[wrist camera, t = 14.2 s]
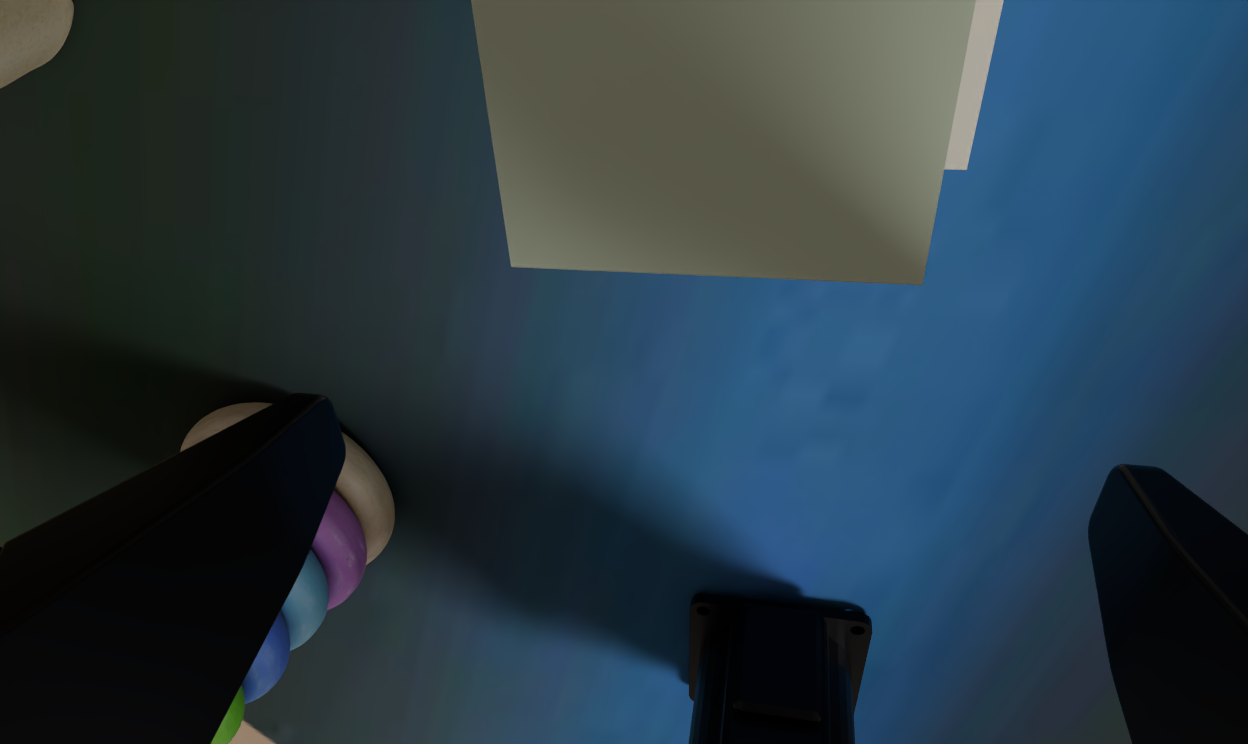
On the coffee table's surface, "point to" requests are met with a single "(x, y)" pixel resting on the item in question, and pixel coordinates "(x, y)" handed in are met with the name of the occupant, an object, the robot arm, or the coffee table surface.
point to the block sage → (723, 133)
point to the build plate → (973, 81)
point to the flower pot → (31, 34)
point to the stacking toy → (313, 559)
